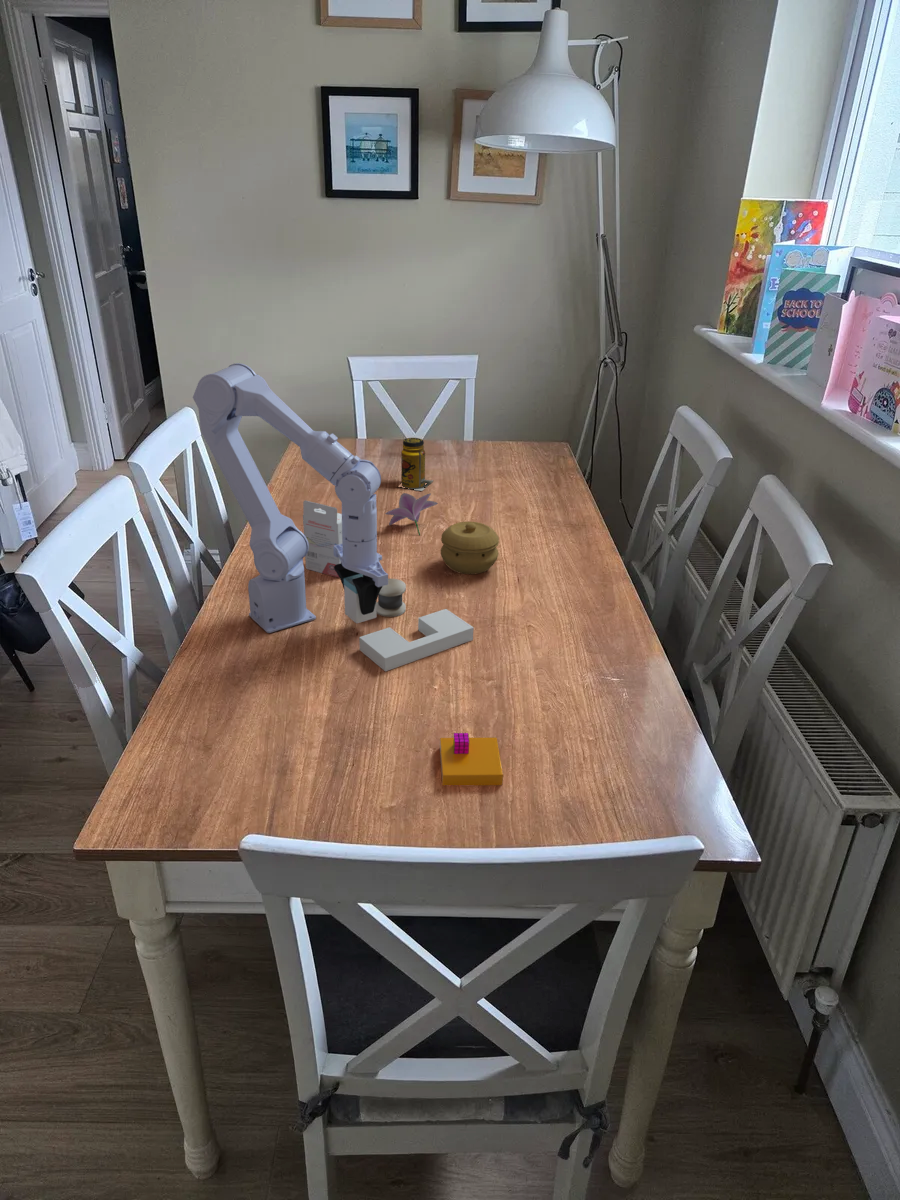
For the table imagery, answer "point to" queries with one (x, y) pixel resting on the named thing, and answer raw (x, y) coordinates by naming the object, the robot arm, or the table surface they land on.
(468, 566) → the pot
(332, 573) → the ink cartridge box
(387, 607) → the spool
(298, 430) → the robot arm
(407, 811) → the table surface
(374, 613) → the teal and white block
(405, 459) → the condiment
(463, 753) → the mustard square tile
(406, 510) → the lily
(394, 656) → the notched board
